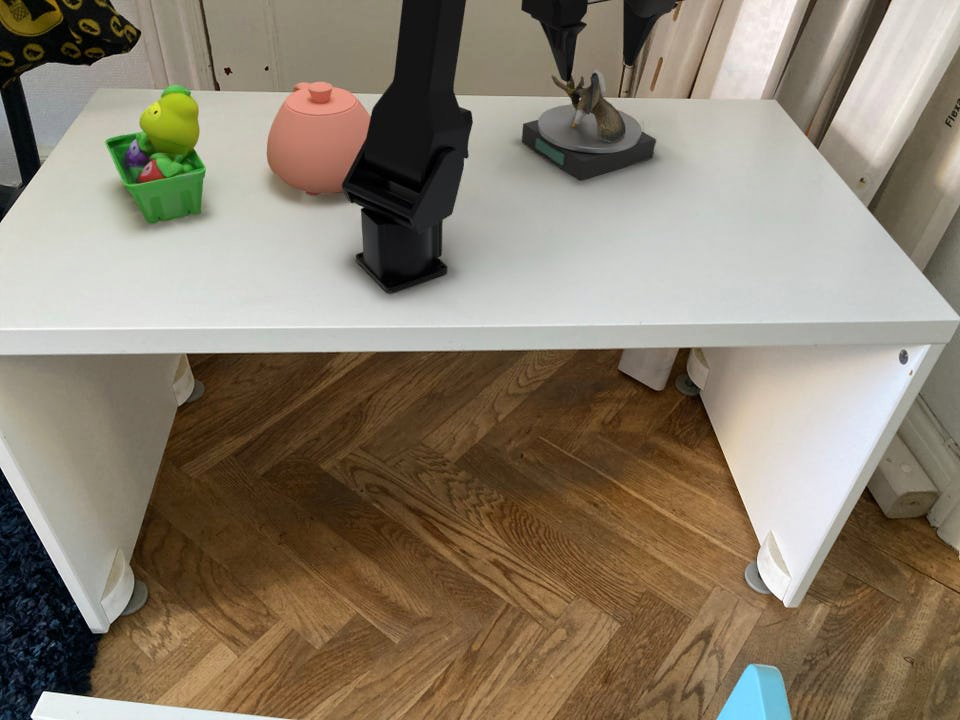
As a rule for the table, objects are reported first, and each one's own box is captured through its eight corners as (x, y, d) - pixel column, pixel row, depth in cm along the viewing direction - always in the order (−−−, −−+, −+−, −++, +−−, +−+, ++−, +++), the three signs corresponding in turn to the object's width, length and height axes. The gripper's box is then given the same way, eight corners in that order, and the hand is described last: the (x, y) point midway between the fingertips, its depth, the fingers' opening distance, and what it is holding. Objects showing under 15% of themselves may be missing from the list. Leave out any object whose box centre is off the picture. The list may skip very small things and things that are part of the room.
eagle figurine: (534, 108, 95) (577, 125, 88) (563, 49, 93) (609, 62, 86) (580, 135, 99) (624, 153, 92) (609, 79, 98) (656, 93, 91)
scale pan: (582, 162, 89) (583, 157, 88) (516, 121, 96) (517, 116, 96) (662, 138, 94) (663, 133, 94) (594, 101, 102) (595, 96, 101)
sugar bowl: (291, 215, 83) (279, 118, 76) (251, 157, 92) (237, 66, 86) (402, 190, 88) (400, 98, 81) (353, 137, 97) (348, 50, 90)
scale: (578, 181, 91) (580, 161, 89) (519, 143, 98) (520, 123, 96) (652, 158, 96) (656, 139, 94) (591, 123, 103) (594, 104, 101)
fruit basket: (114, 183, 86) (85, 77, 79) (199, 166, 90) (178, 64, 83) (138, 234, 79) (108, 123, 72) (229, 214, 82) (209, 106, 75)
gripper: (599, -53, 72) (579, 117, 82) (744, -75, 80) (709, 81, 90) (523, -81, 79) (513, 79, 89) (664, -99, 87) (640, 49, 97)
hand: (597, 72), depth 91 cm, fingers open, 9 cm apart
